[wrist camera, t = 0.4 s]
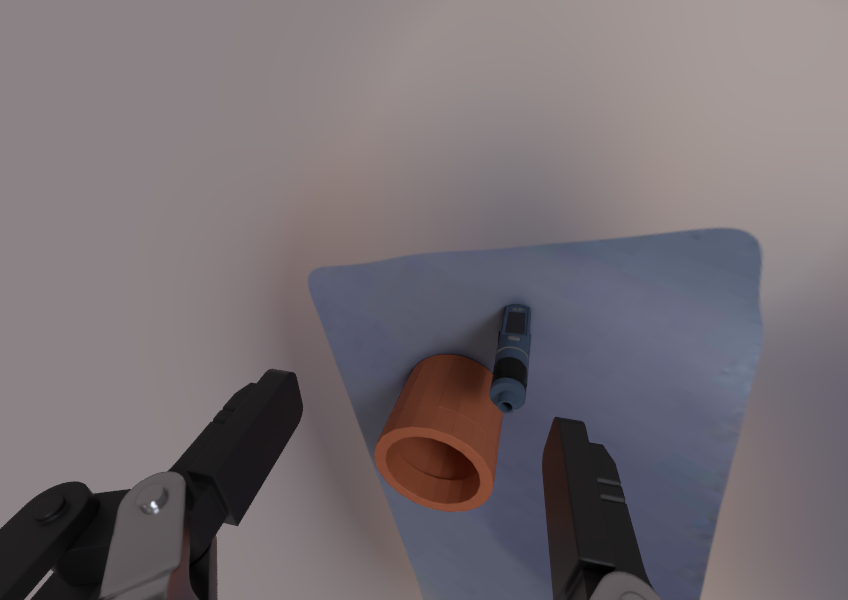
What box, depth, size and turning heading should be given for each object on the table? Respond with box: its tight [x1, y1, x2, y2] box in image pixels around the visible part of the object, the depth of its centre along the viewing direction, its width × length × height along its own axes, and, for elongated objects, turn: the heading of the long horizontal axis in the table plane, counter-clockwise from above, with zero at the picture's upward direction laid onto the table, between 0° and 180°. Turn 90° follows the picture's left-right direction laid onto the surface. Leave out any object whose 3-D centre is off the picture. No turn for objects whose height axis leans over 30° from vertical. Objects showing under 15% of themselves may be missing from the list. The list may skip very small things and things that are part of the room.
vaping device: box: [489, 304, 531, 413], centre depth 29 cm, size 3×5×12 cm, turn 4°
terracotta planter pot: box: [374, 354, 503, 512], centre depth 36 cm, size 11×11×10 cm
